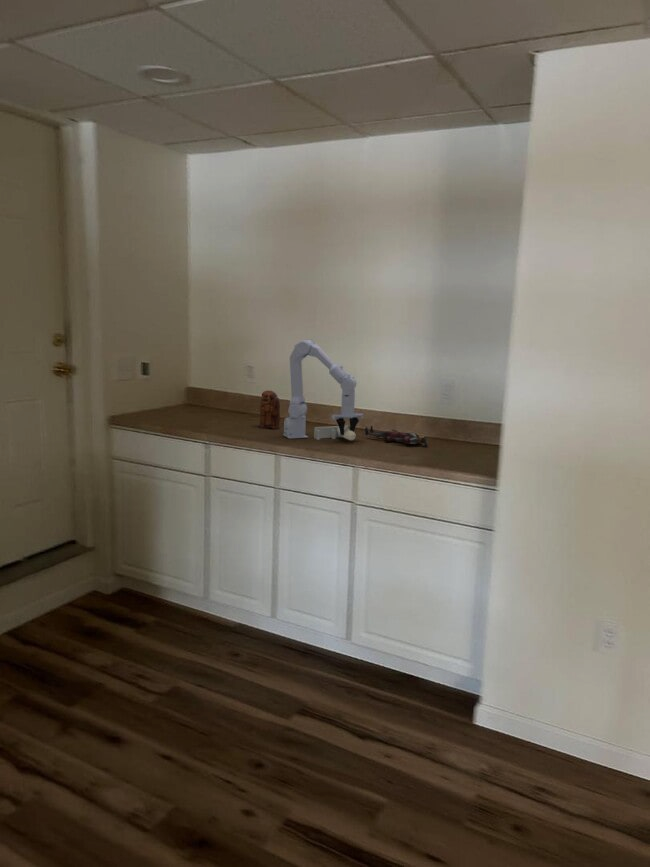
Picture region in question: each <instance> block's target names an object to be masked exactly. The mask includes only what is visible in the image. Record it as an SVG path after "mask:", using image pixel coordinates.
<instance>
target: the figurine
mask: <svg viewBox="0 0 650 867" xmlns="http://www.w3.org/2000/svg"><path fill="white" fill-rule="evenodd" d="M364 429H365V430H364V432H365V434H364V435H365V436H367V435H369V436H373V437H376V438H382V439H383V440H384V441H383V442H393V441H395V442H399V443H404V444H406V445H417V444H419V443H421V444H424V445H423V446H424V447H425V448H428V446H429V445H428V443H427V438H426V436H424V435H419V434H417V433H414V432H403V431H398V430H396V429H395V428H394V429H388V430H386V431H374V428H373V425H371V426H370V430H369V429H368V427H367V426H366V427H365V428H364Z"/></svg>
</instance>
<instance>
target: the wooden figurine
mask: <svg viewBox="0 0 650 867" xmlns="http://www.w3.org/2000/svg"><path fill="white" fill-rule="evenodd" d="M280 403H281V402H280V398H279V397H278V395H277V393H276V392H275V391H273V390H269V389H268V390H264V391H262V392H261V399H260V409H259V410H260V411H259V427H260V428H262V429H271V430H277V429H280V422H281V421H280V419H281V415H280V411H281V410H280V408H281V404H280Z"/></svg>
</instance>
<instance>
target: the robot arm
mask: <svg viewBox="0 0 650 867" xmlns="http://www.w3.org/2000/svg"><path fill="white" fill-rule="evenodd" d="M308 356H309V357H314V358H317V359H318V360H319V361H320V362H321V363H322V364H323V365H324V366H325V367H326V368H327V369H328V370H329V371H328V372H329V375H330V376H331V377H332V378H333V379H334V380H335V381H336V382H337V383H338V384H339V385H340V388H341V389H342V390H341V407H340V408H341V410H340V413H334V414H331V420H333V421H334V420H336V424H338V425H337V426H339V429H340V434H341V435H344V426H346V421H345V420H347V419H348V420H349V429H350V431H353V432H355V429H356V427H357V425H358V424H359V422H360V420H359V419H364V414H363V413H356V412H355V401H356V400H355V398H356V397H355V395H356V394H355V393H356V392H355V390H356V386H357V381H356V379H355V377H354V376H351V374H350V373H348V372H347V371H346V370H345V369H344V366H343V365H340V364H335V363H334V362H333V361H332V359H331V358H330V356H328V355H327V354H326V353H325V352H324V350H323V349H322V348H321V347H320V346H319V344H317V343H316V342H315V341H313V339H306V340H305V339H304V340H299V341H298V342H296V344H295V345H294V348H293V350H292V352H291V354H290V356H289V372H290V388H291V389H290V392H291V398H290V399H289V407H288V409H287V412H288V414H289V417H286V418H284V422H283V434H282V435H283V436H284V437H286V438H288V439H303V438H306V439H307V438H309V436H308V435H306V420H307V419H306V418H307V417H306V414H307V412H308V406H307V404H306V403H307V402H306V399H305V396H304V388H303V387H304V386H303V368H302V367H303V363H302V361H303V360H304V359H305V358H306V357H308Z"/></svg>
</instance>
